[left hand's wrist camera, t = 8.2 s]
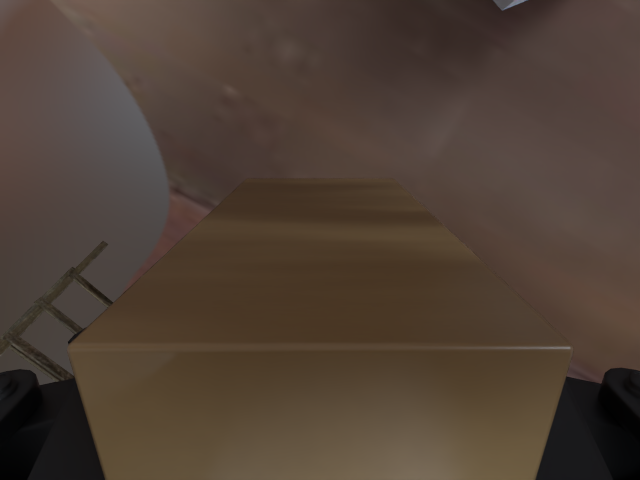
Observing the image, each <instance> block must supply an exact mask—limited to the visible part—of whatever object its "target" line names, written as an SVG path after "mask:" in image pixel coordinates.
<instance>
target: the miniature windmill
mask: <svg viewBox="0 0 640 480" xmlns="http://www.w3.org/2000/svg"><path fill="white" fill-rule="evenodd" d="M107 245H108V244H107V243H105V242H104V241H102V242H101V243H100V244H99V245H98V246H97V247H96V248H95V249H94V250H93V251H92V252H91V253H90V254H89V255H88V256H87V257H86V258H85V259H84V260H83V261H82V262H81V263H80V264H79V265H78V266H77V267H76V268H73V267H72V268H71V269H70V270H69V271H67V272H66V273H65V274H64V275H63V276H62V277H61V278H60V279H59V280H58V281H57V282H56V283H55V284H54V285H53V286H52V287H51V288H50V289H49V290H48V291H47V292H46V293H45V294H44V295H43V296H42V297H40V298H39V299H38V300H36V301H35V302H34V303H35V304H34V305H33V306H32V307H31V308H30V309H29V310H28V311H27V312H26V313H25V314H24V315H23V316H22V317H21V318H20V319H19V320H18V321H17V322H16V323H15V324H14V325H13V326H12V327H10V328H9V329H8V330H7V331H6V332H5V333H4V334H3V335H2V336H1V337H0V356H1V355H2V354H3V353H4V352H5V351H6V350H7V349H8V348H9V349H11V350H12V351H14V352H15V353H16V354H18V355H19V356H21V357H22V358H23V359H25V360H26V361H28V362H29V363H30V364H32V365H33V366H35V367H36V368H37V369H39V370H40V371H41V372H43V373H44V374H46V375H47V376H48V377H50V378H51V379H53V380H54V381H55V382H58V381H63V380H68V379H72V378H75V377H74V376H73V375H72V374H70V373H69V372H67V371H66V370H65V369H63V368H62V367H60V366H59V365H58V364H56V363H55V362H54V361H52V360H51V359H49V358H48V357H47V356H45V355H44V354H42V353H41V352H40V351H38V350H37V349H36V348H34V347H33V346H31V345H30V344H29V343H27V342H26V341H24V340H23V339H22V338H20V336H21V335H22V334H23V332H24V331H25V330H26V329H27V328H28V327H29V326H30V325H31V324H32V323H33V322H34V321H35V320H36V319H37V318H38V317H39V316H40V315H41V314H42V313H43V312H44V311H46V312H47V313H48V314H49V315H51V316H52V317H53V318H54V319H56V320H57V321H58V322H60V323H61V324H62V325H64V326H65V327H66V328H67V329H69V330H70V331H71V332H73V333H74V334H76V333H78V332H79V331H81V330H83V329H82V328H81V327H80V326H78V325H77V324H76V323H74V322H73V321H72V320H71V319H69V318H68V317H67V316H65V315H64V314H63V313H62V312H60V311H59V310H58V309H57V308H55V307H54V306H53V305H52V302H53V301H54V300H55V299H56V298H57V297H58V296H59V295H60V294H61V293H62V292H63V291H64V290H65V289H66V288H67V287H68V286H69V285H70V284H71V283H72V282H73V281H75V282H77V283H78V284H79V285H80V286H81V287H83V288H84V289H85V290H86V291H88V292H89V293H90V294H91V295H92V296H94V297H95V298H96V299H97V300H98V301H100V302H101V303H102V304H103V305H105V306H106V307H107V308H108V307H109V306H110V305H111V304H113V302H112V301H111V300H109V299H108V298H107V297H106V296H104V295H103V294H102V293H101V292H100V291H98V290H97V289H96V288H95V287H94V286H92V285H91V284H90V283H89V282H88V281H86V280H85V279H84V278H83V277H82V276H80V274H81V273H82V271H83V270H84V269H85V268H86V267H87V266H88V265H89V264H90V263H91V262H92V261H93V260H94V259H95V258H96V257H97V256H98V255H99V254H100V253H101V252H102V251H103V250H104V249H105V247H106V246H107Z"/></svg>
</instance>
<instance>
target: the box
mask: <svg viewBox="0 0 640 480" xmlns="http://www.w3.org/2000/svg"><path fill="white" fill-rule="evenodd" d="M573 352H574V351H573V346H572V344H571V343H570V342H569V341H568V340H567V339H566V338H565V337H564V336H562V335H561V334H560V333H559V332H558V331H557V330H556V329H555V328H554V327H553V326H552V325H551V324H550V323H548V322H547V321H546V320H545V319H544V318H543V317H542V316H541V315H540V314H539V313H538V312H537V311H536V310H534V309H533V308H532V307H531V306H530V305H529V304H528V303H527V302H526V301H525V300H524V299H523V298H521V297H520V296H519V295H518V294H517V293H516V292H515V291H514V290H513V289H512V288H511V287H510V286H509V285H507V284H506V283H505V282H504V281H503V280H502V279H501V278H500V277H499V276H498V275H497V274H496V273H495V272H493V271H492V270H491V269H490V268H489V267H488V266H487V265H486V264H485V263H484V262H483V261H482V260H481V259H479V258H478V257H477V256H476V255H475V254H474V253H473V252H472V251H471V250H470V249H469V248H468V247H467V246H465V245H464V244H463V243H462V242H461V241H460V240H459V239H458V238H457V237H456V236H455V235H454V234H453V233H451V232H450V231H449V230H448V229H447V228H446V227H445V226H444V225H443V224H442V223H441V222H440V221H439V220H437V219H436V218H435V217H434V216H433V215H432V214H431V213H430V212H429V211H428V210H427V209H426V208H425V207H423V206H422V205H421V204H420V203H419V202H418V201H417V200H416V199H415V198H414V197H413V196H412V195H411V194H409V193H408V192H407V191H406V190H405V189H404V188H403V187H402V186H401V185H400V184H399V183H398V182H397V181H395V180H394V179H246V180H245V181H244V182H243V183H242V184H240V185H239V186H238V187H237V188H236V189H235V190H234V191H233V192H232V193H231V194H230V195H229V196H228V197H226V198H225V199H224V200H223V201H222V202H221V203H220V204H219V205H218V206H217V207H216V208H215V209H214V210H212V211H211V212H210V213H209V214H208V215H207V216H206V217H205V218H204V219H203V220H202V221H201V222H200V223H199V224H197V225H196V226H195V227H194V228H193V229H192V230H191V231H190V232H189V233H188V234H187V235H186V236H185V237H183V238H182V239H181V240H180V241H179V242H178V243H177V244H176V245H175V246H174V247H173V248H172V249H171V250H170V251H168V252H167V253H166V254H165V255H164V256H163V257H162V258H161V259H160V260H159V261H158V262H157V263H156V264H154V265H153V266H152V267H151V268H150V269H149V270H148V271H147V272H146V273H145V274H144V275H143V276H142V277H140V278H139V279H138V280H137V281H136V282H135V283H134V284H133V285H132V286H131V287H130V288H129V289H128V290H127V291H125V292H124V293H123V294H122V295H121V296H120V297H119V298H118V299H117V300H116V301H115V302H114V303H113V304H111V305H110V306H109V307H108V308H107V309H106V310H105V311H104V312H103V313H102V314H101V315H100V316H99V317H98V318H96V319H95V320H94V321H93V322H92V323H91V324H90V325H89V326H88V327H87V328H86V329H85V330H84V331H82V332H81V333H80V334H79V335H78V336H77V337H76V338H75V339H74V340H73V341H72V342H71V343H70V344H69V346H68V348H67V353H68V356H69V360H70V363H71V366H72V370H73V373H74V377H75V380H76V383H77V387H78V390H79V393H80V397H81V400H82V403H83V407H84V410H85V414H86V417H87V420H88V424H89V427H90V430H91V434H92V437H93V440H94V444H95V447H96V451H97V454H98V457H99V461H100V464H101V467H102V471H103V474H104V477H105V480H535V479H536V476H537V473H538V469H539V466H540V463H541V459H542V456H543V452H544V449H545V446H546V442H547V439H548V436H549V432H550V429H551V426H552V422H553V419H554V416H555V412H556V409H557V406H558V402H559V399H560V395H561V392H562V389H563V385H564V382H565V379H566V375H567V372H568V369H569V365H570V362H571V359H572V355H573Z"/></svg>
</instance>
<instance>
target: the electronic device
mask: <svg viewBox="0 0 640 480" xmlns="http://www.w3.org/2000/svg"><path fill="white" fill-rule="evenodd" d="M493 1H494V2H495V3H496V5H497V6H498V7H499V8H500V9H501V10H505V9H507V8H510V7H512V6H515V5H517V4H520V3H522V2H525V1H527V0H493Z"/></svg>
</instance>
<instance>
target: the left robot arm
mask: <svg viewBox="0 0 640 480" xmlns="http://www.w3.org/2000/svg"><path fill="white" fill-rule="evenodd" d="M86 328H87V327H86ZM86 328H84V329H83V330H81V331H79V332H78V333H76V334H75V335H74V336H73V337H72V338H71V339H70V340H69V341H68V344H70V343H71V342H72V341H73V340H74V339H75V338H76V337H77V336H78V335H79V334H80V333H81V332H82V331H84V330H85V329H86ZM0 480H105V477H104V474H103V471H102V467H101V464H100V461H99V457H98V454H97V451H96V447H95V444H94V440H93V437H92V434H91V430H90V427H89V424H88V420H87V417H86V414H85V410H84V407H83V403H82V400H81V397H80V393H79V390H78V387H77V383H76V380H75V378H72V379H68V380H63V381H58V382H53V383H49V384H44V385H39V383H38V380H37V377H36V374H35V373H33V372H32V371H30V370H21V369H19V370H12V371H6V372H2V373H0ZM535 480H640V371H637V370H632V369H626V368H614V369H610V370H608V371H607V372H606V373H605V375H604V378H603V381H602V383H601V384H599V383H594V382H590V381H585V380H580V379H575V378H571V377H567V376H566V379H565V382H564V385H563V389H562V392H561V395H560V399H559V402H558V406H557V409H556V412H555V416H554V419H553V422H552V426H551V429H550V432H549V436H548V439H547V442H546V446H545V449H544V452H543V456H542V459H541V463H540V466H539V469H538V473H537V476H536V479H535Z"/></svg>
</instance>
